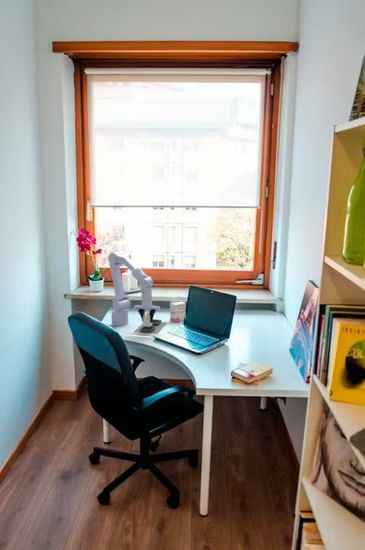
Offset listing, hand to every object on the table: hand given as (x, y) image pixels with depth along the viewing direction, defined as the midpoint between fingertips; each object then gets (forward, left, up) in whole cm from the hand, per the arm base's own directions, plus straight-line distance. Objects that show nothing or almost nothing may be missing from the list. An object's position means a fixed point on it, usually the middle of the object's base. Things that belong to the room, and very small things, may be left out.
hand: (147, 321), depth 230 cm
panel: (0, +6, -6) cm, 8 cm away
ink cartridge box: (+12, +22, -6) cm, 26 cm away
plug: (0, 0, -2) cm, 2 cm away
